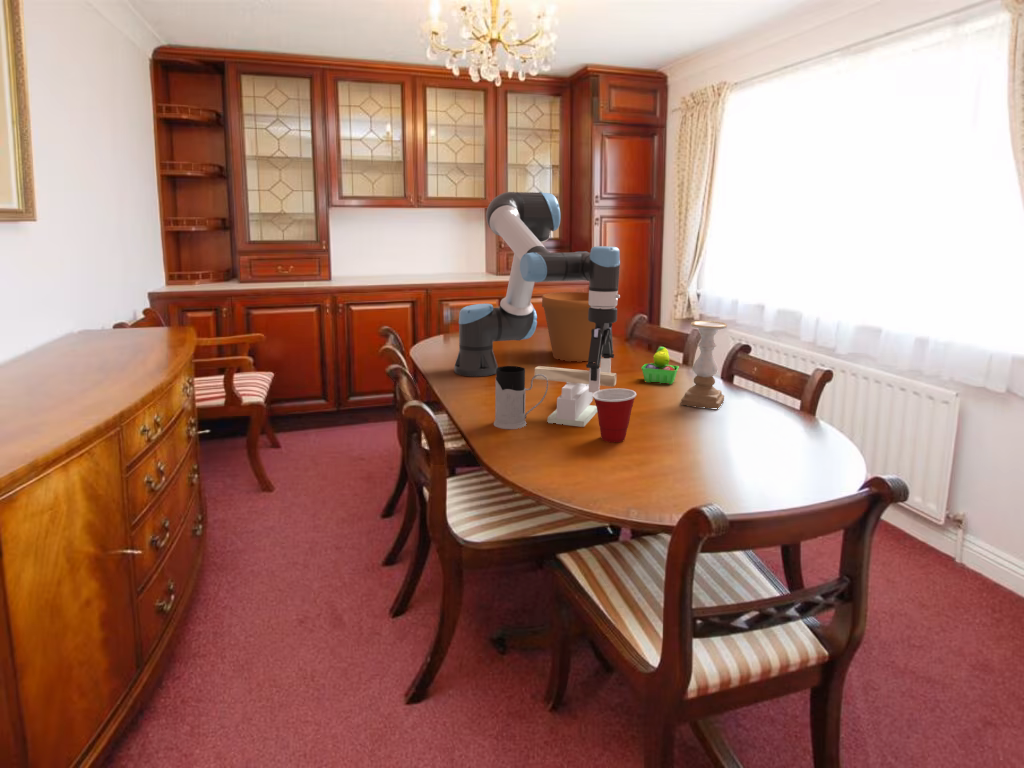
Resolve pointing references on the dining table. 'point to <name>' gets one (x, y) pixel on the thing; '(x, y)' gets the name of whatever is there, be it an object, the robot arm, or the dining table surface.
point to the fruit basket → (660, 368)
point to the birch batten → (573, 375)
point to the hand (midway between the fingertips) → (599, 386)
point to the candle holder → (705, 369)
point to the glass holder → (511, 397)
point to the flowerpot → (568, 324)
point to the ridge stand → (573, 406)
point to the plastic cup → (614, 412)
